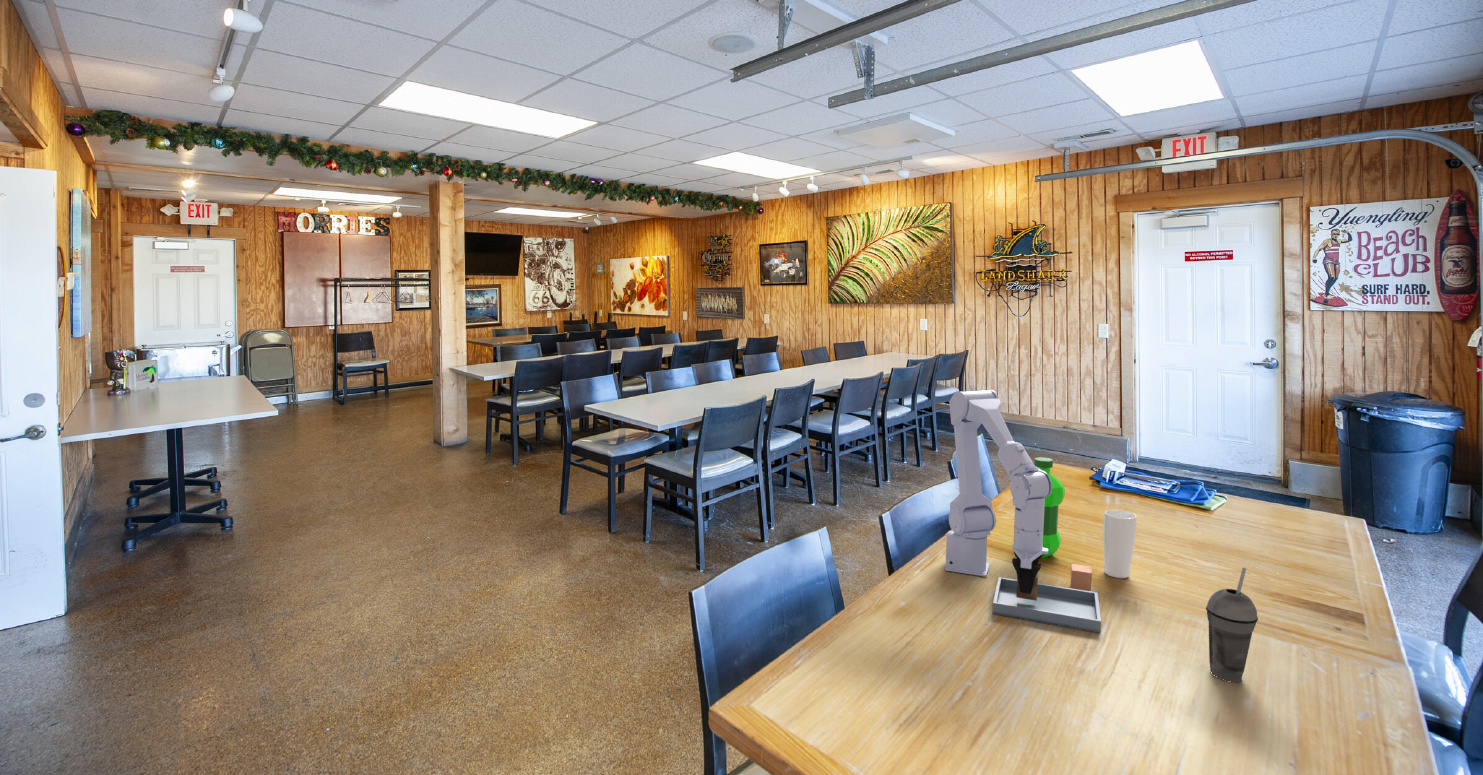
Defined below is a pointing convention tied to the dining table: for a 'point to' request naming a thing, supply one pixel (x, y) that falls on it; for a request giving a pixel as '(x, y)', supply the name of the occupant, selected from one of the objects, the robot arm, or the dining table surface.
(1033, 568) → the robot arm
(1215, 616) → the beverage cup
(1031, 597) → the walnut block
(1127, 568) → the drinking glass
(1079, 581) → the terracotta block
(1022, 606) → the tray
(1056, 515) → the plastic bottle
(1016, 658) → the dining table surface
